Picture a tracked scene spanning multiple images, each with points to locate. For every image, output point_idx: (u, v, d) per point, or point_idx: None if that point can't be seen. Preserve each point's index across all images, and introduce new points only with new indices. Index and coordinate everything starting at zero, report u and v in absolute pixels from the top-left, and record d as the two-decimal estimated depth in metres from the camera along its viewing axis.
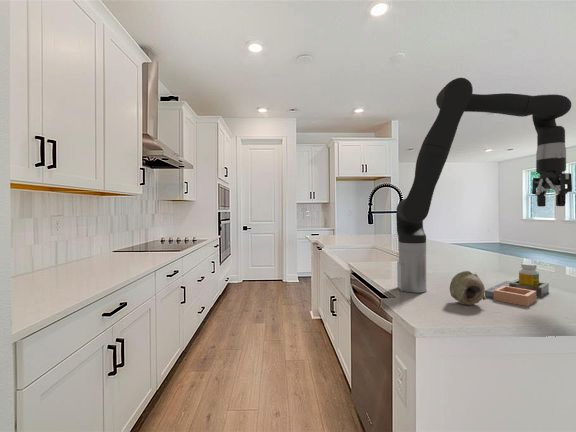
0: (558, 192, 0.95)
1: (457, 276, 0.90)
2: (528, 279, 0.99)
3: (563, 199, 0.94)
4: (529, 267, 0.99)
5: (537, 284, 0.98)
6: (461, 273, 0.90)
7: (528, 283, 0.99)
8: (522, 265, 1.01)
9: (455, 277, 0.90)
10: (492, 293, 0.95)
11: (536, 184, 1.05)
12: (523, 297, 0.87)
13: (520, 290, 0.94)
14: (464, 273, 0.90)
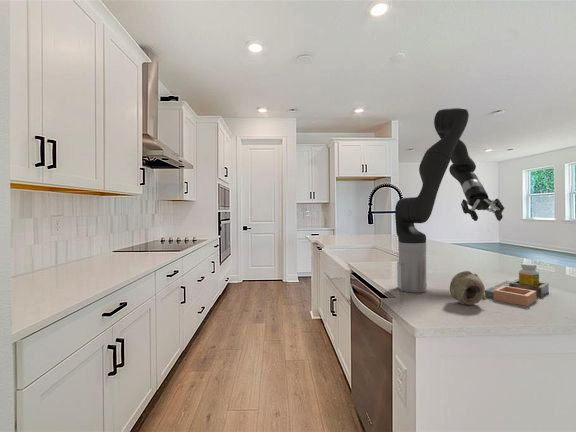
0: (499, 209, 1.17)
1: (457, 276, 0.90)
2: (528, 279, 0.99)
3: None
4: (529, 267, 0.99)
5: (537, 284, 0.98)
6: (461, 273, 0.90)
7: (528, 283, 0.99)
8: (522, 265, 1.01)
9: (455, 277, 0.90)
10: (492, 293, 0.95)
11: None
12: (523, 297, 0.87)
13: (520, 290, 0.94)
14: (464, 273, 0.90)
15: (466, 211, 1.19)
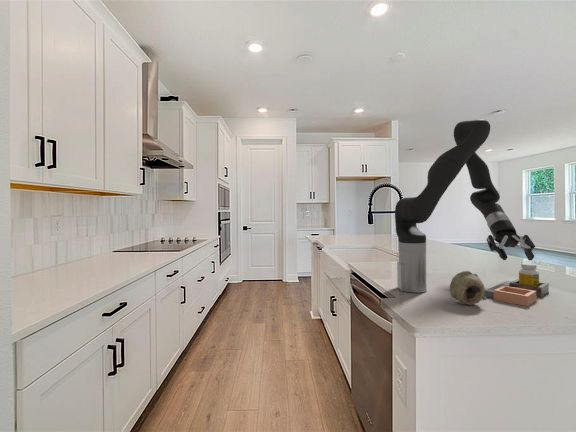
0: (529, 247, 1.07)
1: (457, 276, 0.90)
2: (528, 279, 0.99)
3: None
4: (529, 267, 0.99)
5: (537, 284, 0.98)
6: (461, 273, 0.90)
7: (528, 283, 0.99)
8: (522, 265, 1.01)
9: (455, 277, 0.90)
10: (492, 293, 0.95)
11: None
12: (523, 297, 0.87)
13: (520, 290, 0.94)
14: (464, 273, 0.90)
15: (493, 248, 1.10)
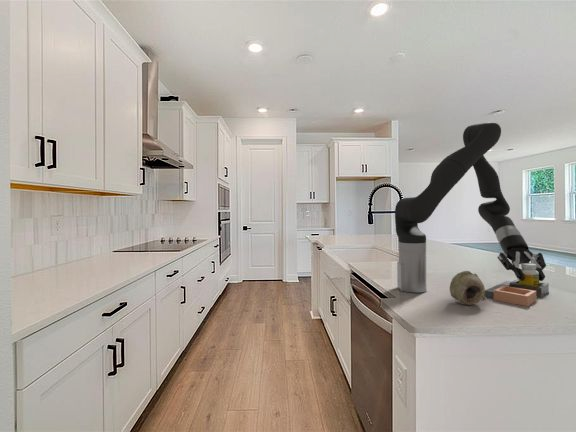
0: (540, 266, 1.01)
1: (457, 276, 0.90)
2: (528, 279, 0.99)
3: None
4: (529, 267, 0.99)
5: (537, 284, 0.98)
6: (461, 273, 0.90)
7: (528, 283, 0.99)
8: (522, 265, 1.01)
9: (455, 277, 0.90)
10: (492, 293, 0.95)
11: None
12: (523, 297, 0.87)
13: (520, 290, 0.94)
14: (464, 273, 0.90)
15: (509, 268, 1.03)
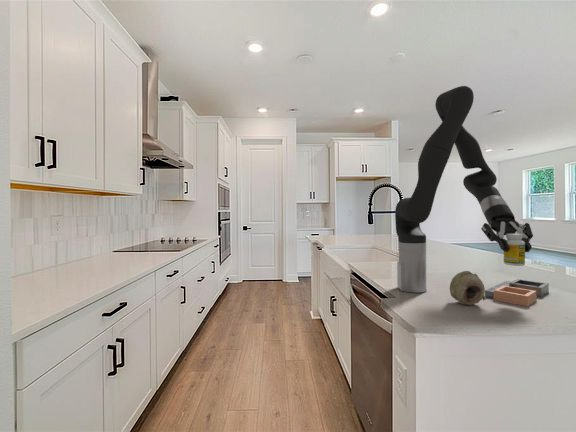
0: (526, 236, 0.92)
1: (457, 276, 0.90)
2: (513, 250, 0.90)
3: None
4: (514, 237, 0.90)
5: (523, 255, 0.90)
6: (461, 273, 0.90)
7: (512, 254, 0.90)
8: (507, 235, 0.92)
9: (455, 277, 0.90)
10: (492, 293, 0.95)
11: None
12: (523, 297, 0.87)
13: (520, 290, 0.94)
14: (464, 273, 0.90)
15: (493, 238, 0.94)
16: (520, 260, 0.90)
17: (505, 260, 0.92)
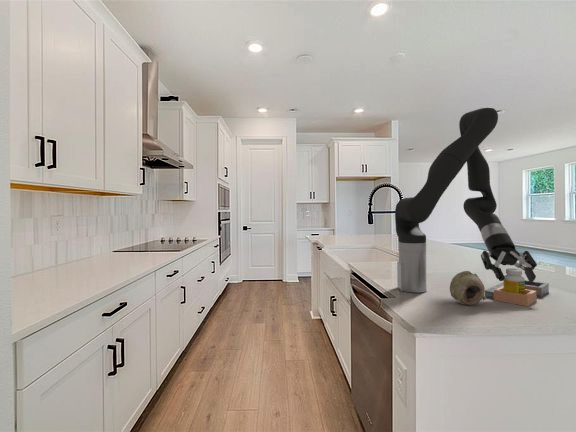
0: (530, 266, 0.92)
1: (457, 276, 0.90)
2: (513, 286, 0.90)
3: None
4: (514, 273, 0.91)
5: (523, 292, 0.90)
6: (461, 273, 0.90)
7: (512, 290, 0.91)
8: (507, 271, 0.93)
9: (455, 277, 0.90)
10: (492, 293, 0.95)
11: None
12: (523, 297, 0.87)
13: None
14: (464, 273, 0.90)
15: (488, 267, 0.95)
16: None
17: None
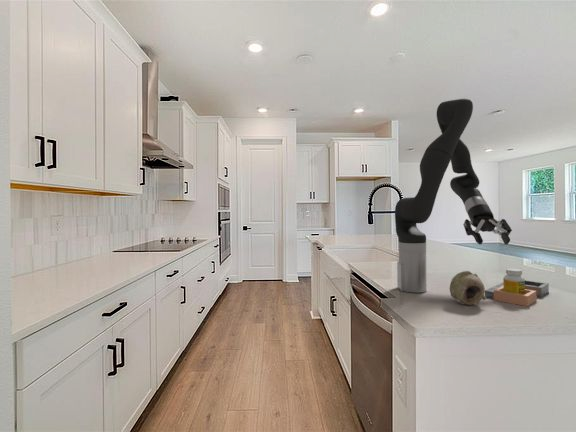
0: (506, 231, 1.05)
1: (457, 276, 0.90)
2: (513, 286, 0.90)
3: None
4: (514, 273, 0.91)
5: (523, 292, 0.90)
6: (461, 273, 0.90)
7: (512, 290, 0.91)
8: (507, 271, 0.93)
9: (455, 277, 0.90)
10: (492, 293, 0.95)
11: None
12: (523, 297, 0.87)
13: None
14: (464, 273, 0.90)
15: (469, 233, 1.07)
16: None
17: None
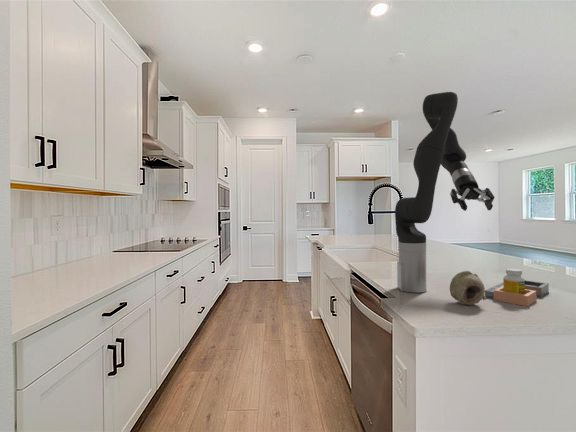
0: (489, 198, 1.12)
1: (457, 276, 0.90)
2: (513, 286, 0.90)
3: None
4: (514, 273, 0.91)
5: (523, 292, 0.90)
6: (461, 273, 0.90)
7: (512, 290, 0.91)
8: (507, 271, 0.93)
9: (455, 277, 0.90)
10: (492, 293, 0.95)
11: None
12: (523, 297, 0.87)
13: None
14: (464, 273, 0.90)
15: (455, 201, 1.14)
16: None
17: None
